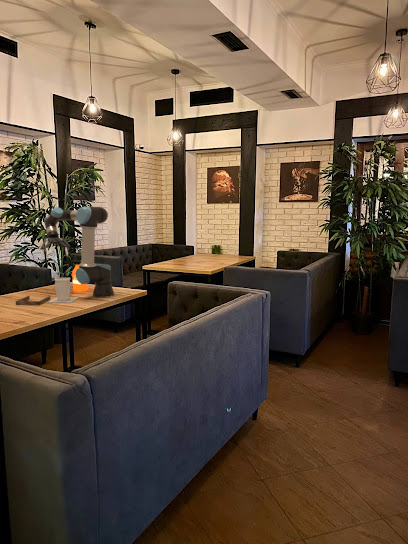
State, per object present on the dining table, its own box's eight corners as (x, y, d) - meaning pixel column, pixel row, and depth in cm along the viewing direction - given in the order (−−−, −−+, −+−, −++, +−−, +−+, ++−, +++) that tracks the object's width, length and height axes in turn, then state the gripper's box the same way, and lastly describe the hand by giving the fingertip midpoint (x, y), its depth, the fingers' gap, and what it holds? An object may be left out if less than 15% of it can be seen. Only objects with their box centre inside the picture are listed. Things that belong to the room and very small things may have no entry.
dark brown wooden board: (50, 299, 281) (50, 296, 280) (39, 305, 264) (39, 301, 263) (28, 299, 281) (28, 295, 281) (15, 304, 265) (15, 301, 264)
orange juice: (81, 289, 320) (80, 264, 317) (88, 290, 315) (87, 265, 312) (72, 290, 314) (71, 265, 311) (79, 291, 309) (78, 266, 306)
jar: (66, 301, 272) (65, 279, 270) (52, 300, 275) (51, 279, 272) (74, 298, 283) (73, 277, 280) (61, 297, 285) (60, 276, 283)
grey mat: (79, 298, 286) (79, 297, 286) (70, 303, 270) (70, 302, 270) (57, 297, 287) (57, 297, 287) (47, 302, 271) (47, 302, 271)
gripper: (69, 236, 308) (74, 258, 298) (34, 237, 295) (38, 259, 285) (70, 230, 303) (76, 251, 292) (35, 230, 290) (39, 253, 280)
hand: (57, 255), depth 289 cm, fingers open, 13 cm apart
